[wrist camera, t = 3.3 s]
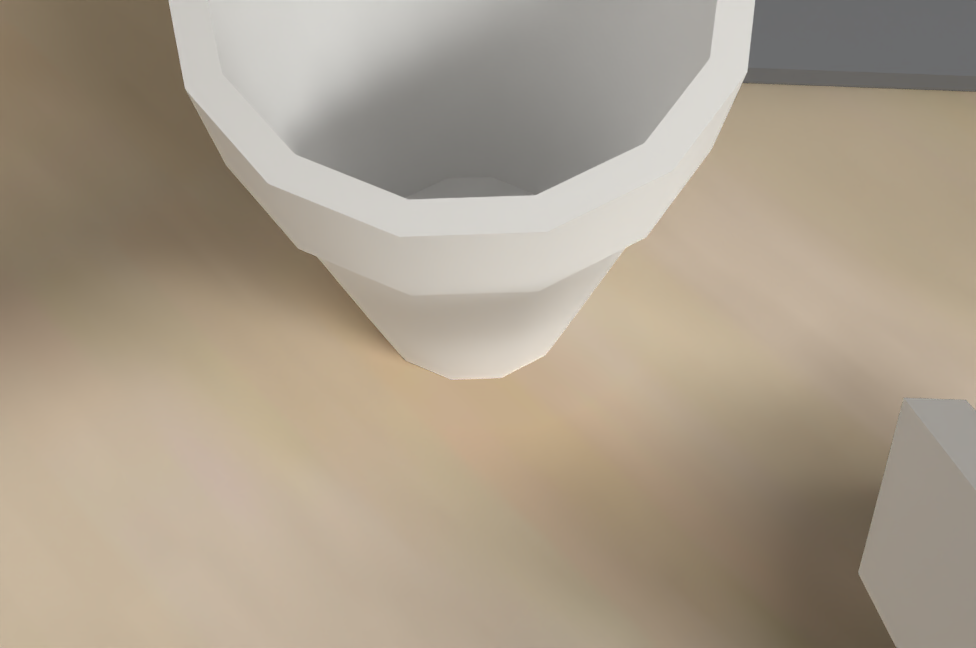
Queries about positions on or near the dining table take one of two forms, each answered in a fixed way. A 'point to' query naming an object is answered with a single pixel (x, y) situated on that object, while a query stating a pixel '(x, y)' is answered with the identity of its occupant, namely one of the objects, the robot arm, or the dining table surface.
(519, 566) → the dining table surface
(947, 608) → the robot arm
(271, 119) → the foam cup
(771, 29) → the rubber mat
